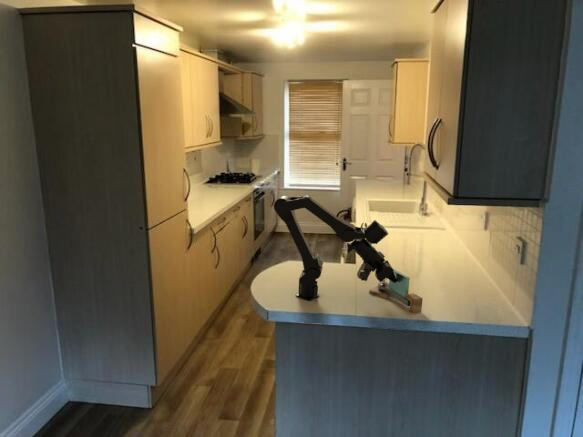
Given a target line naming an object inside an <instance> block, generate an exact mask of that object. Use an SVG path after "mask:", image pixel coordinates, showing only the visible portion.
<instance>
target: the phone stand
mask: <svg viewBox="0 0 583 437" xmlns="http://www.w3.org/2000/svg"><path fill="white" fill-rule="evenodd" d="M363 226H364V227H363ZM359 227H360V228H364V229H366V228H367V227H368V223H367V222H365V223H364V222H362V223H361V224H360V226H359ZM365 239H366V238H365ZM366 240H367V239H366ZM367 241H368V240H367ZM368 242H369V241H368ZM369 243H370V242H369ZM370 244H371V243H370ZM371 245H372V246H373V244H371Z"/></svg>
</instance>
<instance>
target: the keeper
mask: <svg viewBox="0 0 583 437" xmlns="http://www.w3.org/2000/svg"><path fill="white" fill-rule="evenodd" d="M405 298H406V299H408V300H410V306H409V311H408V312H410V313H411V314H413V315H414V314H419V313H422V311H423V310H422V309H423V308H422V307H423V299H424V298H423V297H421V296H419V294H416V293H414V292H413V293H408V294H405Z"/></svg>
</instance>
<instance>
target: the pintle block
mask: <svg viewBox="0 0 583 437" xmlns="http://www.w3.org/2000/svg"><path fill="white" fill-rule="evenodd" d="M368 293H369V294H371V295H374V296H378V297H381V298H384V299H387V300H388V299H390V298H393V297H392V296H390V295H389V294H387V293H386V292H384V291H380V290H378V285H376V286H375V287H373V288H371V289H368Z"/></svg>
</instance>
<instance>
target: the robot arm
mask: <svg viewBox="0 0 583 437" xmlns="http://www.w3.org/2000/svg"><path fill="white" fill-rule="evenodd" d="M300 209H306V210H307V211H309V213H311V214H312V215H314V216H315V217H316V218H318V219H319V220H321V222H323V223H325V224H326V225H327V226H329V227H330V228H331V229H332V231H333V232H334V233H335V234H336V235H337V236H338V237H339V238H340V240H341V241H343V242H345V243H346V251H347V253H348V254H349V253H350V252H351V251H354V253H356V254H357V255H358V256H359V257H360V259H362V264H361V265H360V267H359V268H358V271H357V273H356V276H357V278H358V279H359V280H360V281H362V282H363V281H364V282H367V281H368V279H369V276H370V275H371V273H374V276H375V278H376V279H377V280H378V281H379V283H380V282H382V281H383V280H384V279H387V280H391V281H392V282H394V283H396V282H397V280H396V277H395V275H394V272H393V271H394V270H395V269H394V268H393V267H392V265H391V263H390V262H389V261H388V260H386V255H385V254H384V253H382V251H378V250H376V247H374V246H373V245H377V244H378V243H379V242H381V241H382V240H383V239H384V238H386V237H387V236H389V232H388V230H387V229H386V228H385V227H384V226H383V225H382V224H380V222H378V221H377V220H376V219H374V220H373V221H372V222H371V223H370V224H369V225H367V228H366V229H364V228H365V227H363V228H360V227H361V226H356V225H354V223H351V222H349V221H347V220H346V219H343V218H340V217H338V216H336V215H335V214H334V213H333V212H331V211H330V210H328V209H327V208H325V207H324V206H323V205H322V204H320V203H318V201H316V200H315V199H313V197H311V195H308V194H307V195H300V196H287V195H281V196H279V197H278V198H277V199H276V200H275V202H274V203H273V210H274V212H275V213H276V214H277V216H278V217H279V219H280V220H281V221H283V222H284V224H285V225H286V228H287V230H288V231H289V234H290V235H291V239H292V240H293V242H294V245H295V246H296V248H297V250H298V253H299V255H300V257H301V260H302V265H303V270H301V273H300V275H299V278H298V293H297V294H295V297H298V298H300V299H303V300H306V301H309V302H310V301H312V300H314V299H316V298H319V296H320V294H319V293H318V292H319V285H318V279H319V278H320V277H321V275H322V273H323V268H324V267H323V264H324V262H323V261H322V260H321V256H320V253H317V254H315V253H314V252H313V251H312V250H311V247H310V245H309V242H308V240H307V239H306V237H305V234H304V232H303V230H302V229H301V226H300V224H299V222H298V220H297V218H296V213H295V212H296V210H300ZM366 239H367V240H368V241H369V242H370V243H371V244H372V245H371V244H370V243H369V242H368V241H367V240H366ZM393 269H394V270H393Z"/></svg>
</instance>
